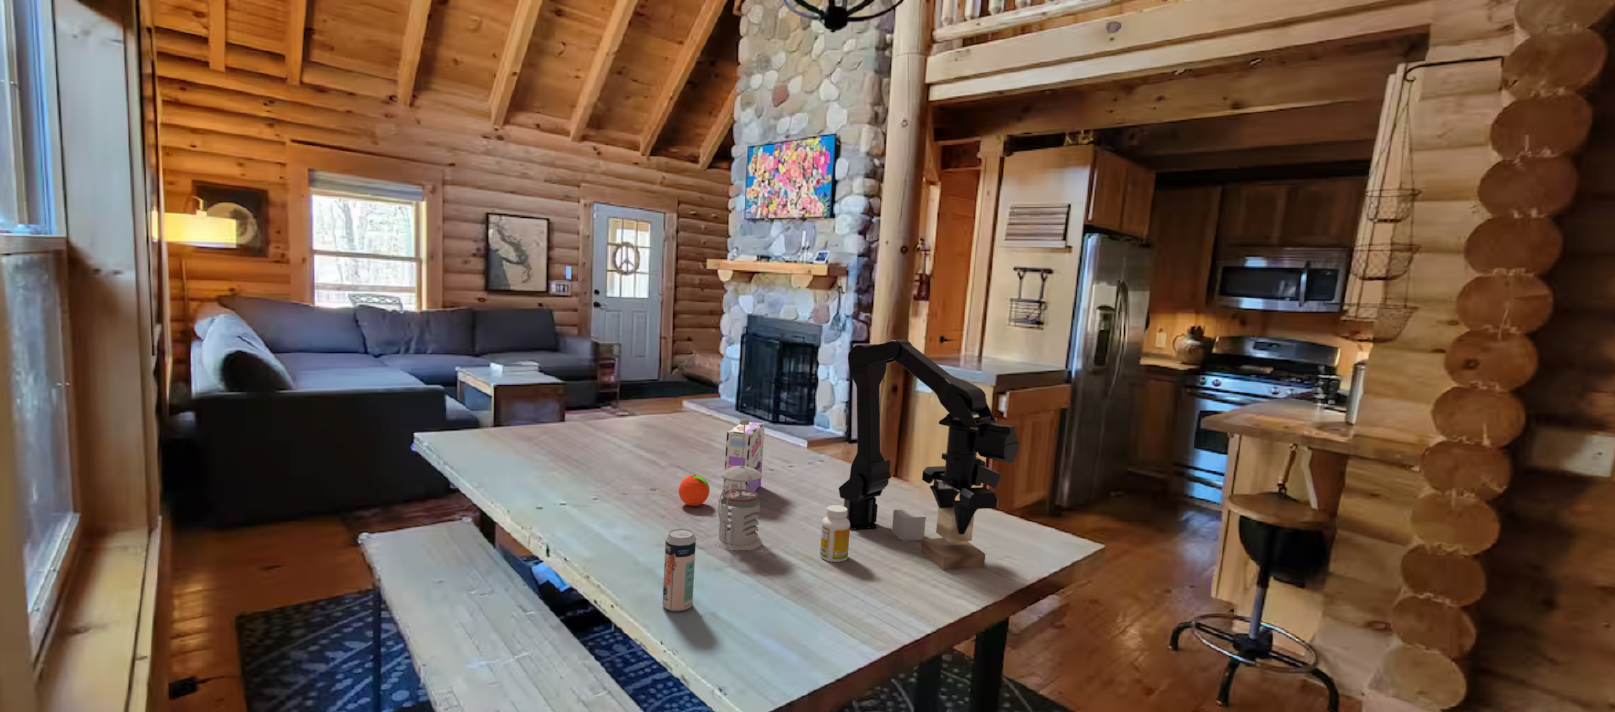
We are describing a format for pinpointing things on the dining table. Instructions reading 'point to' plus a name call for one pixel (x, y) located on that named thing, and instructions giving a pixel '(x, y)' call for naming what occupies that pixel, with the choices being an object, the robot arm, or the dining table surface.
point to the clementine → (694, 490)
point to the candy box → (745, 452)
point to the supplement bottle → (835, 534)
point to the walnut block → (952, 554)
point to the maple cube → (952, 526)
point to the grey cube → (908, 524)
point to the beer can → (679, 570)
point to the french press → (739, 509)
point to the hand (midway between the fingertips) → (954, 528)
